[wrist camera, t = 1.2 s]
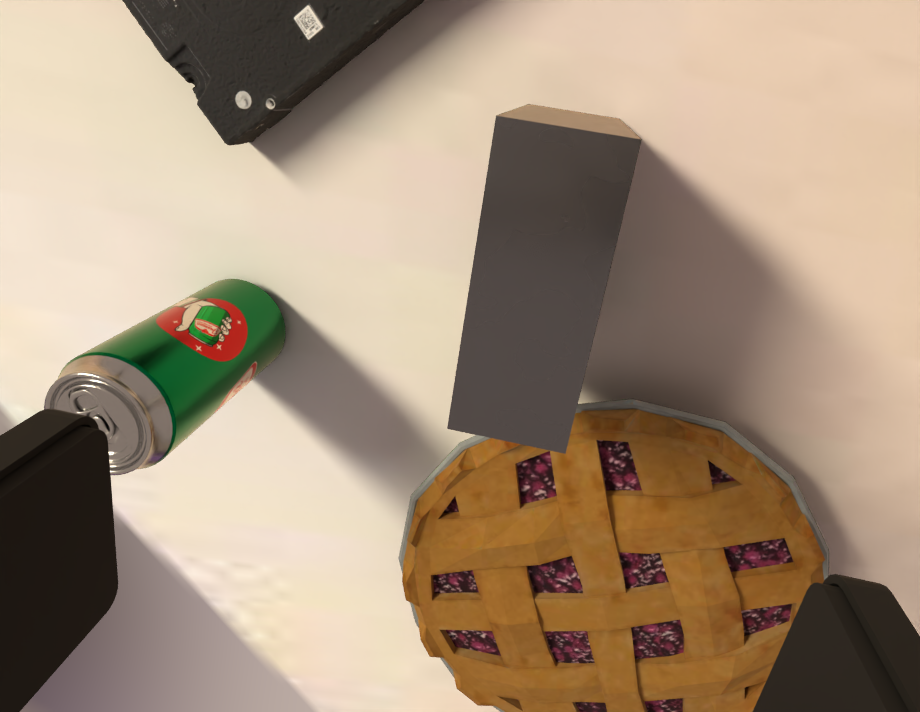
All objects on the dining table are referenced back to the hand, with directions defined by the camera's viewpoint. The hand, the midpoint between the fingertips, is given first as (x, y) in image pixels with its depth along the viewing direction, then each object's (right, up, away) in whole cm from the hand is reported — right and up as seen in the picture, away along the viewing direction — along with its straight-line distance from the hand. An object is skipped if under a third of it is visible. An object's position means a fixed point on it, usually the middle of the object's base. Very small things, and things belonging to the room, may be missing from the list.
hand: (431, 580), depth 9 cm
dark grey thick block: (+5, +9, +22) cm, 25 cm away
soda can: (-11, +5, +27) cm, 30 cm away
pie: (+8, -8, +29) cm, 31 cm away
